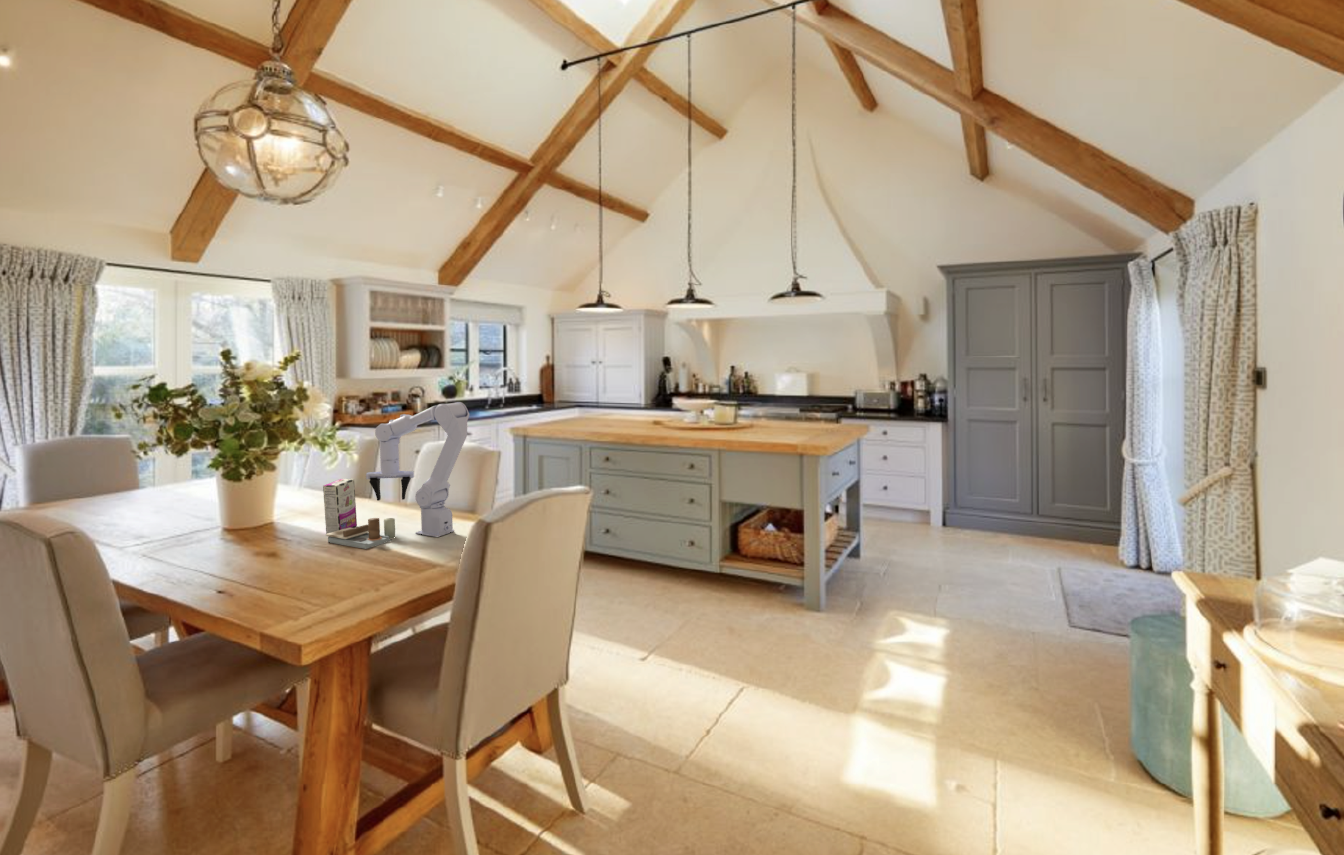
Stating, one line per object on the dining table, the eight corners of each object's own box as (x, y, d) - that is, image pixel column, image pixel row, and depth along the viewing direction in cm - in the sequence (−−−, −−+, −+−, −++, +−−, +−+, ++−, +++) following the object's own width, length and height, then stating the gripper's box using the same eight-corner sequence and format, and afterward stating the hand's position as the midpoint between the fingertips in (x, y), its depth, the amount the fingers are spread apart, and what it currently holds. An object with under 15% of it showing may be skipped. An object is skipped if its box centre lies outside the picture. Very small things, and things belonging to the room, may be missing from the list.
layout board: (389, 541, 204) (389, 536, 204) (365, 548, 196) (365, 543, 196) (352, 535, 210) (352, 530, 210) (328, 542, 202) (327, 537, 202)
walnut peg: (375, 536, 205) (374, 517, 204) (382, 537, 203) (381, 518, 203) (366, 538, 202) (365, 519, 201) (373, 539, 200) (373, 520, 200)
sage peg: (397, 537, 209) (396, 518, 208) (389, 539, 206) (389, 521, 205) (390, 535, 210) (389, 517, 209) (382, 538, 207) (381, 519, 206)
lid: (368, 532, 207) (368, 524, 207) (345, 539, 199) (345, 531, 199) (349, 529, 210) (349, 521, 210) (326, 535, 202) (325, 528, 202)
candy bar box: (342, 525, 221) (340, 478, 219) (357, 526, 221) (355, 478, 219) (324, 534, 210) (322, 484, 208) (340, 535, 210) (337, 485, 208)
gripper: (363, 461, 211) (365, 502, 212) (411, 460, 214) (412, 501, 216) (368, 458, 217) (369, 498, 219) (414, 457, 221) (415, 496, 222)
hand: (391, 499), depth 218 cm, fingers open, 7 cm apart
